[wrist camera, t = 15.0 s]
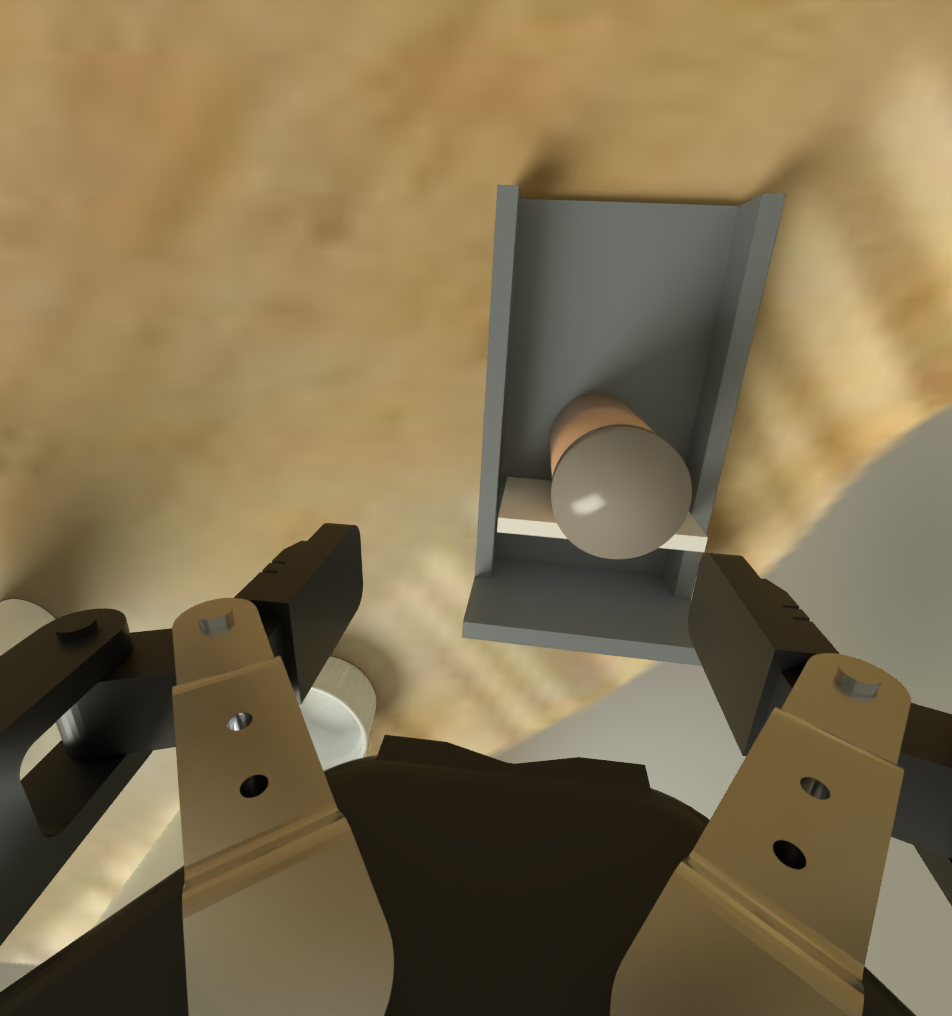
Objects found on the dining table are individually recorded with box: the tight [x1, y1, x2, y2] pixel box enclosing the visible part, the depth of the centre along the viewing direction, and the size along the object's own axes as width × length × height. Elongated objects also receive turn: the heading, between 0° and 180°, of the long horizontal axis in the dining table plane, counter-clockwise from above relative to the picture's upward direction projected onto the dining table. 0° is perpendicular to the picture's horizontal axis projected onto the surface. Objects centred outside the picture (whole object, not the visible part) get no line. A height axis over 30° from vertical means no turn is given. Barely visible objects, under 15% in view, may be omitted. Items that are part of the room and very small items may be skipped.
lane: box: [462, 185, 786, 666], centre depth 27 cm, size 22×13×8 cm, turn 177°
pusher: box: [497, 477, 708, 552], centre depth 29 cm, size 1×10×7 cm, turn 87°
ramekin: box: [299, 656, 376, 771], centre depth 39 cm, size 9×9×4 cm
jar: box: [549, 394, 692, 559], centre depth 26 cm, size 6×6×11 cm
